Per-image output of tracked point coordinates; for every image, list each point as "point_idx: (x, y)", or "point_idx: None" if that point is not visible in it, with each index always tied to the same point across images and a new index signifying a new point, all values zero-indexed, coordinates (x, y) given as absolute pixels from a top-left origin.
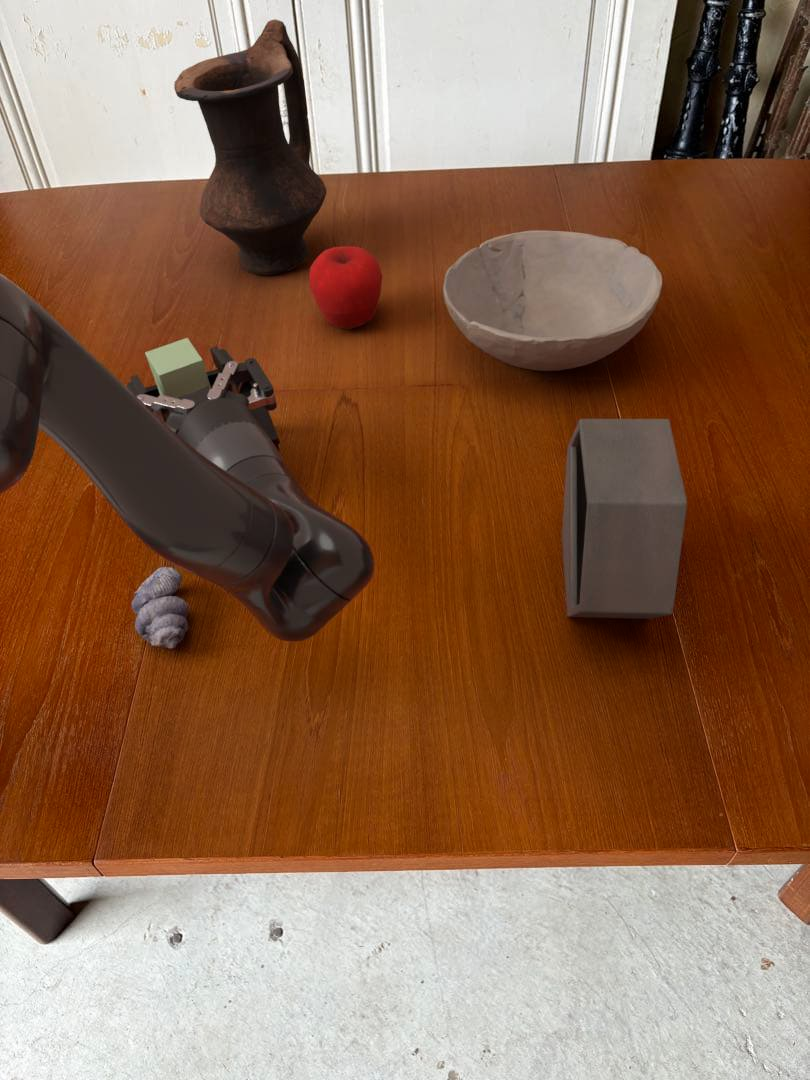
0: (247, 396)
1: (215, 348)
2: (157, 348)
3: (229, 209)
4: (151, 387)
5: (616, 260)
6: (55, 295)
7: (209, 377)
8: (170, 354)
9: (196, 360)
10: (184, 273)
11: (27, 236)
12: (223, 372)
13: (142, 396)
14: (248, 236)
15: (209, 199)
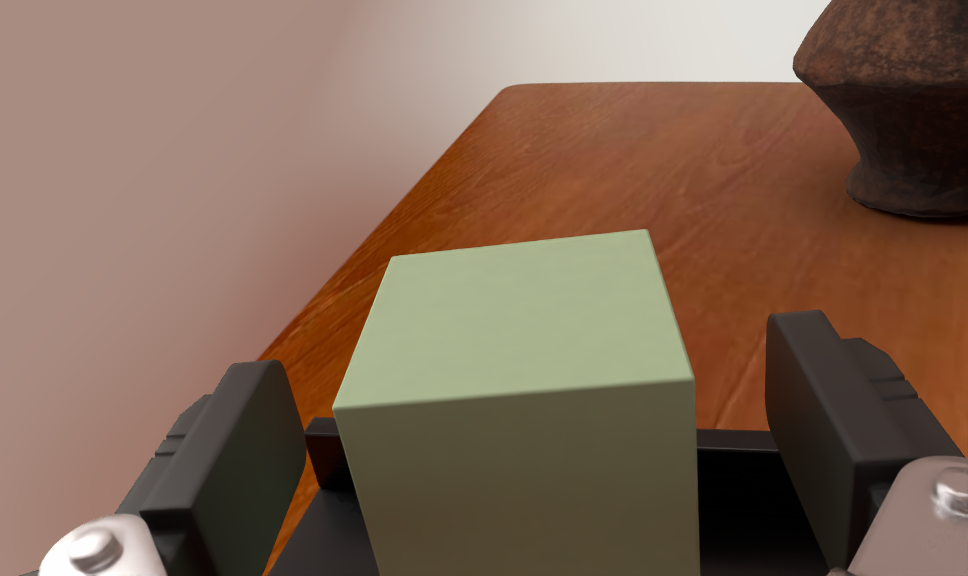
0: None
1: (810, 323)
2: (462, 249)
3: (876, 39)
4: None
5: None
6: (478, 195)
7: (711, 458)
8: (503, 292)
9: (645, 370)
10: (720, 194)
11: (495, 124)
12: (870, 560)
13: (103, 544)
14: (908, 107)
15: (826, 27)
